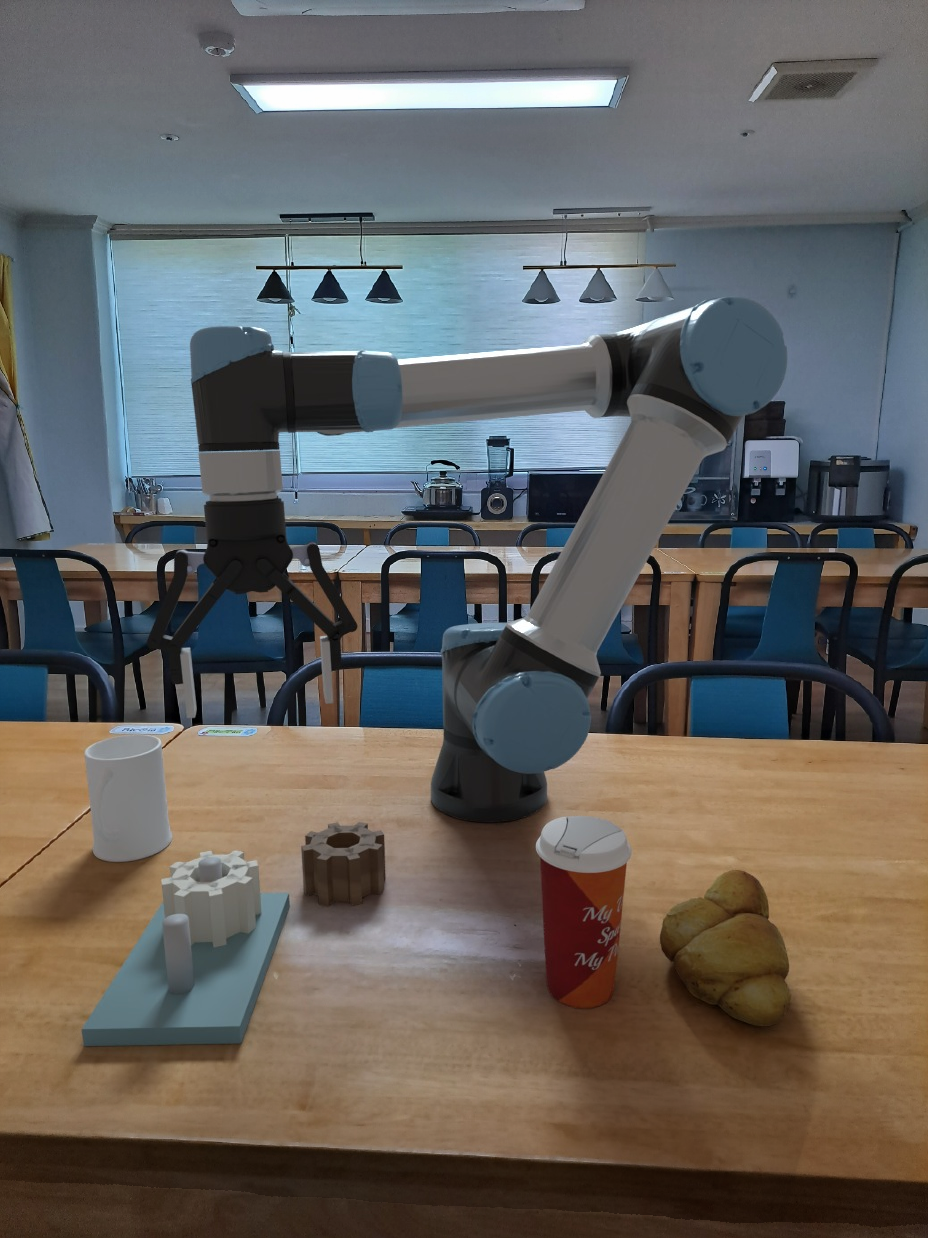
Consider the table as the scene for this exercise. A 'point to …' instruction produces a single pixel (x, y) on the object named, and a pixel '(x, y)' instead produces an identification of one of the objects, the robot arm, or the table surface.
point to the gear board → (202, 1004)
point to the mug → (127, 797)
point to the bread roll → (730, 950)
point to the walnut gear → (343, 863)
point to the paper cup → (582, 906)
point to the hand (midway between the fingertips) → (261, 707)
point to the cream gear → (214, 897)
